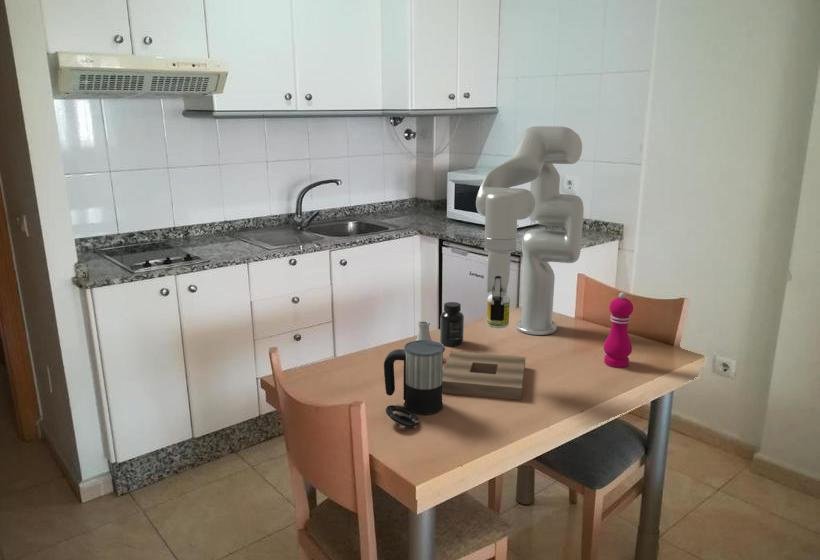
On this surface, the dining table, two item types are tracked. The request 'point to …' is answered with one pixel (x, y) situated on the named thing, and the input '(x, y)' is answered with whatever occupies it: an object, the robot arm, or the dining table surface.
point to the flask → (423, 331)
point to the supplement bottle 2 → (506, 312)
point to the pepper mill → (619, 333)
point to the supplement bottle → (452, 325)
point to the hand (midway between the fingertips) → (497, 315)
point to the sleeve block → (484, 375)
